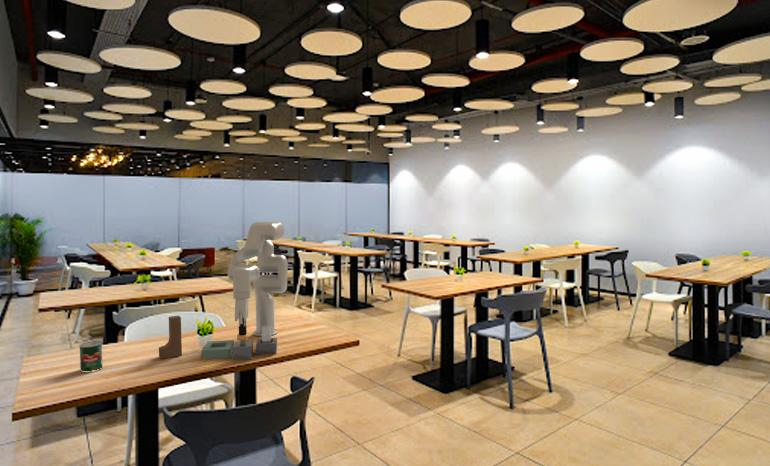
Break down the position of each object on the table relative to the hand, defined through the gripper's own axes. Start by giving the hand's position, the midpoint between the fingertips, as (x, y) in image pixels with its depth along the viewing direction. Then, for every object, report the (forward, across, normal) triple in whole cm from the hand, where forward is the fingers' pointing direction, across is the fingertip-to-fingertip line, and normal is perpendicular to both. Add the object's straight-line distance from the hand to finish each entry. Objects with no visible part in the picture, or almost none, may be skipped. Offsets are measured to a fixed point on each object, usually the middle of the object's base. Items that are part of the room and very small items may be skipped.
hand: (242, 334), depth 208 cm
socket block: (+10, -6, +10) cm, 16 cm away
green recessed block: (+10, -7, -12) cm, 17 cm away
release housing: (+10, 0, 0) cm, 10 cm away
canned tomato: (+11, +5, -61) cm, 62 cm away
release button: (+9, 0, 0) cm, 9 cm away
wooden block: (+11, -7, -33) cm, 35 cm away
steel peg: (+10, -6, +10) cm, 16 cm away
